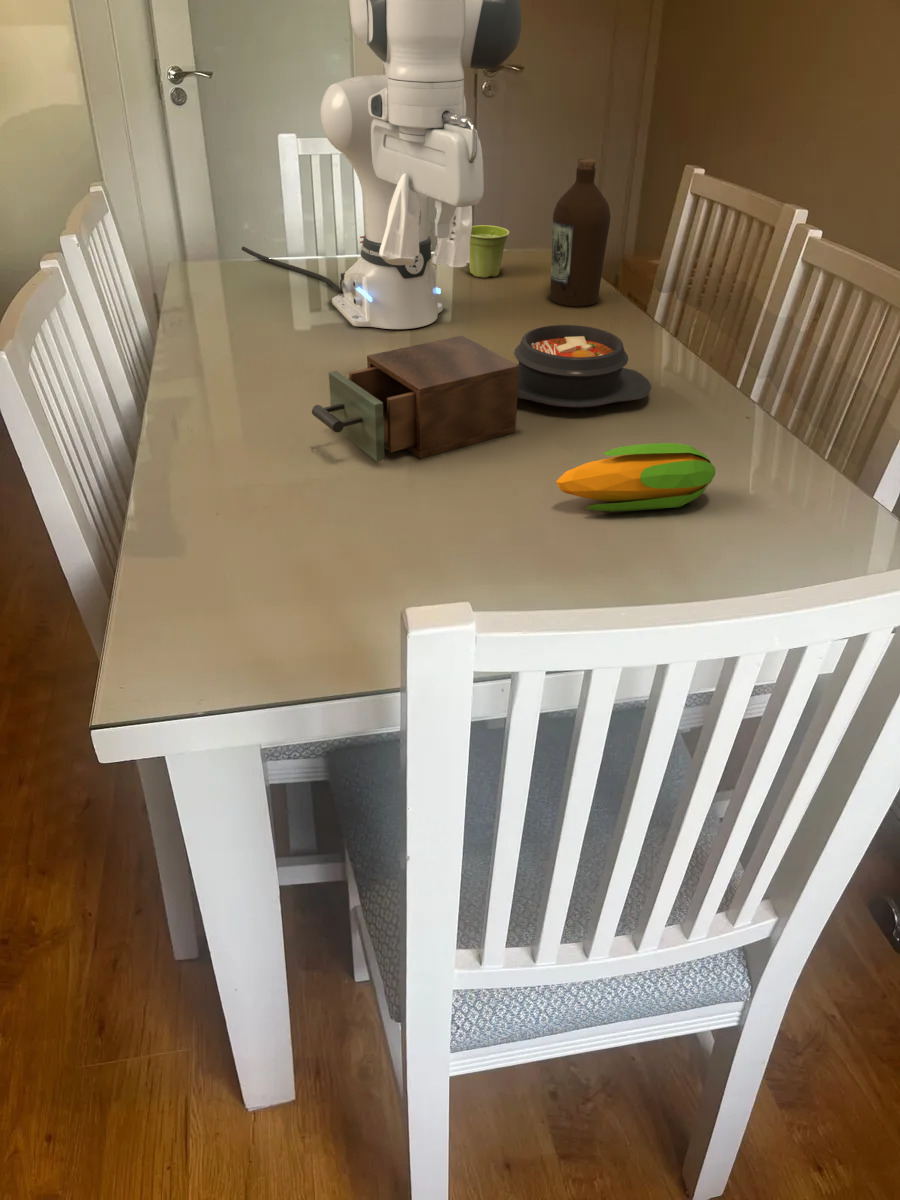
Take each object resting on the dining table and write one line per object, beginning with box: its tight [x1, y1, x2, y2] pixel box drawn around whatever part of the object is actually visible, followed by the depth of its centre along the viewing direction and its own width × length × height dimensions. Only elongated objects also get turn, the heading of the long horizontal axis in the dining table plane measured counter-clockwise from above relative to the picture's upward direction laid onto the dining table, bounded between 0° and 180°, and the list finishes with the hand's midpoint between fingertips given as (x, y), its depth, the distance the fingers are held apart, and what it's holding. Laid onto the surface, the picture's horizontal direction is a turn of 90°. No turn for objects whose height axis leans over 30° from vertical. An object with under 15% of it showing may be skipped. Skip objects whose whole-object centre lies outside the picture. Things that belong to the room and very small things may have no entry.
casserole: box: [513, 324, 652, 409], centre depth 138 cm, size 25×19×8 cm
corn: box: [555, 442, 716, 513], centre depth 110 cm, size 7×8×20 cm
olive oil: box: [549, 158, 611, 308], centre depth 171 cm, size 11×11×25 cm
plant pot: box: [468, 224, 510, 279], centre depth 189 cm, size 9×9×9 cm
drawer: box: [311, 367, 416, 462], centre depth 123 cm, size 19×13×8 cm, turn 123°
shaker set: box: [379, 173, 473, 268], centre depth 114 cm, size 12×4×11 cm, turn 98°
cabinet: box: [366, 335, 519, 459], centre depth 127 cm, size 16×14×10 cm
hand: (425, 230), depth 115 cm, fingers closed on shaker set, 5 cm apart
